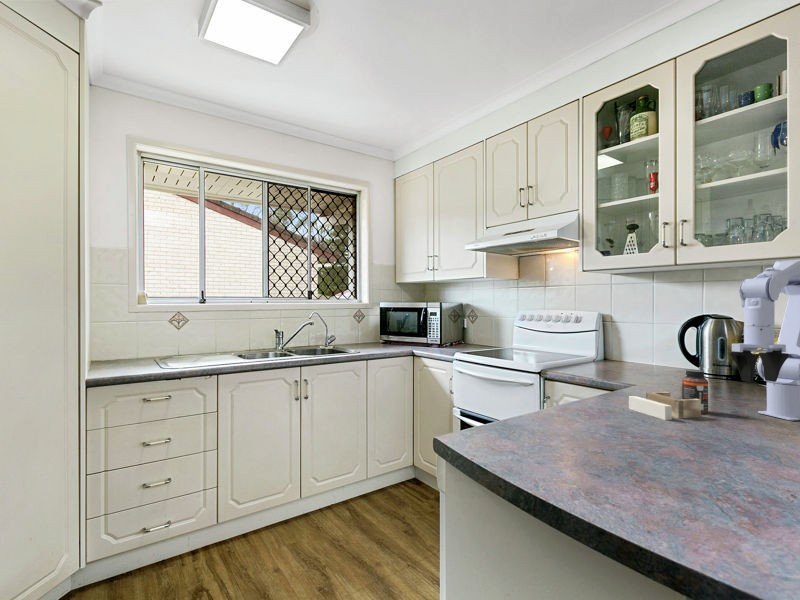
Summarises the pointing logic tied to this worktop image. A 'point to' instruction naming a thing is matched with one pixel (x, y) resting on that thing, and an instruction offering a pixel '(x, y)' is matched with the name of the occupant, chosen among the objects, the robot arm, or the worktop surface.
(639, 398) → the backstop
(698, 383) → the supplement bottle
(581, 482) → the worktop surface
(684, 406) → the cradle
